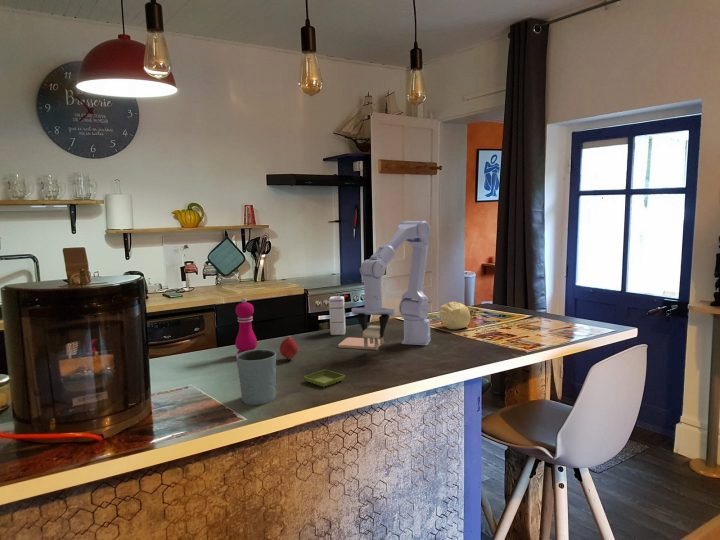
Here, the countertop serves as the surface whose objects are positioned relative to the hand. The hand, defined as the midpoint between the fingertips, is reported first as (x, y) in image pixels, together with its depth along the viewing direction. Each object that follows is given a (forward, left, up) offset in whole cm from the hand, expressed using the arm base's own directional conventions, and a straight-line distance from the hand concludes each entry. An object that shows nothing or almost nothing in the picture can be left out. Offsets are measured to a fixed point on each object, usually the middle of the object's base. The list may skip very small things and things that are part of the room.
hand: (373, 336), depth 173 cm
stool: (0, 0, -3) cm, 3 cm away
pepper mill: (+42, +10, -7) cm, 44 cm away
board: (+8, -12, -6) cm, 16 cm away
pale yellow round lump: (-22, -45, -7) cm, 50 cm away
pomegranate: (+26, +11, -7) cm, 29 cm away
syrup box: (+22, -27, -7) cm, 35 cm away
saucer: (+7, +29, -7) cm, 31 cm away
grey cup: (+19, +46, -7) cm, 50 cm away
